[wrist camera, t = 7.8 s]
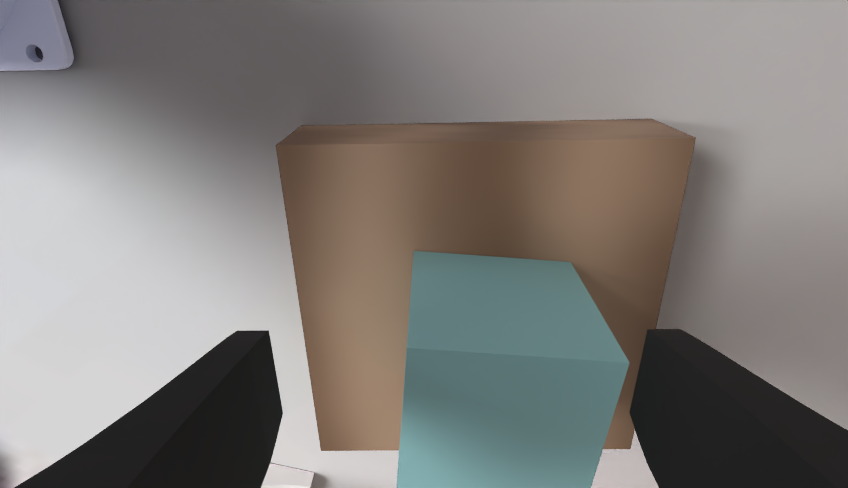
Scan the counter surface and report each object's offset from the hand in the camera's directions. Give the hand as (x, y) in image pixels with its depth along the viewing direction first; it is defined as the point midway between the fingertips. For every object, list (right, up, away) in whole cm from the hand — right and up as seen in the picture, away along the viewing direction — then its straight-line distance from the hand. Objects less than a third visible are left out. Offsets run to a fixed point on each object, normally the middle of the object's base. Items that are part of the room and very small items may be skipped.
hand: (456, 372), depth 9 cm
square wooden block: (+1, +1, +10) cm, 10 cm away
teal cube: (+1, 0, +7) cm, 7 cm away
